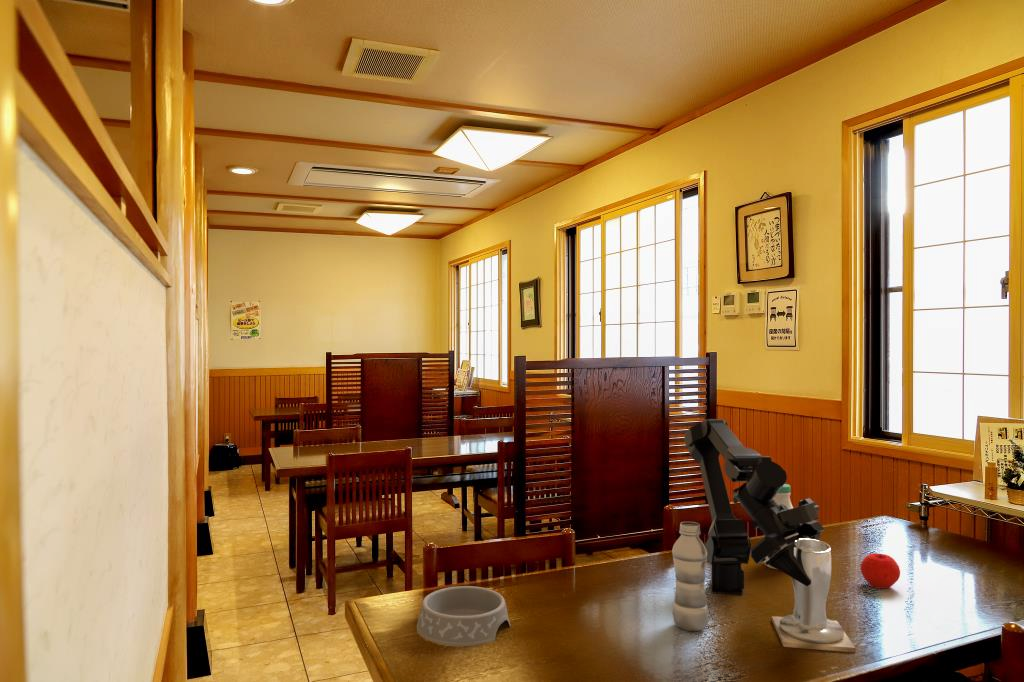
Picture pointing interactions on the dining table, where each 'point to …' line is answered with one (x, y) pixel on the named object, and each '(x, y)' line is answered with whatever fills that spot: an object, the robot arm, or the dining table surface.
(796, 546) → the beer glass
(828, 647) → the base plate
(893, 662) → the dining table surface
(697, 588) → the plastic bottle
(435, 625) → the dog bowl
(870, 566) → the apple
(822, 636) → the flange
